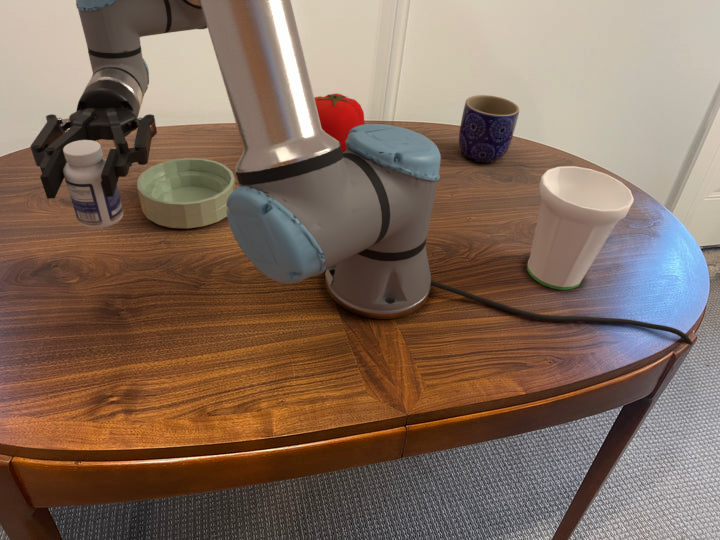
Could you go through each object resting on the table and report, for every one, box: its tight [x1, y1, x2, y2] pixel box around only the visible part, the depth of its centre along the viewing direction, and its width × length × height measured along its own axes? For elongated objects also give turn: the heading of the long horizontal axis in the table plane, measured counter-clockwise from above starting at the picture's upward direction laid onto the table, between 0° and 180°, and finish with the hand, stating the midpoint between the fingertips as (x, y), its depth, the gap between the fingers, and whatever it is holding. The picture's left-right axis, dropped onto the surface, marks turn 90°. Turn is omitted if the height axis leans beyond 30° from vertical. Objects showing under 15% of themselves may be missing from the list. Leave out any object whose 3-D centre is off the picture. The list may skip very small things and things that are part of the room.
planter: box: [458, 94, 520, 164], centre depth 111 cm, size 11×11×11 cm
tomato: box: [314, 93, 365, 153], centre depth 107 cm, size 12×13×12 cm
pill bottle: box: [63, 140, 124, 230], centre depth 65 cm, size 5×5×10 cm
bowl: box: [136, 157, 237, 230], centre depth 89 cm, size 15×15×5 cm
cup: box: [526, 165, 635, 291], centre depth 79 cm, size 12×12×15 cm
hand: (77, 186), depth 59 cm, fingers closed on pill bottle, 5 cm apart
